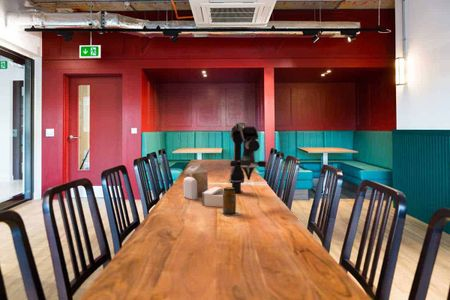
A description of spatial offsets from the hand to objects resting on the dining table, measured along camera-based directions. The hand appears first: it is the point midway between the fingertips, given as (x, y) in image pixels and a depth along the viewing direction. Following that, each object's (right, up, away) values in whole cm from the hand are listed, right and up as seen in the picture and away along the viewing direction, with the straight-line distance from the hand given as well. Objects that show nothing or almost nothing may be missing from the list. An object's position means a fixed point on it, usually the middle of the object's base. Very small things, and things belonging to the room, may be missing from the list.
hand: (248, 179), depth 153 cm
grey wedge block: (-17, -13, +6) cm, 22 cm away
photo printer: (-33, -13, +16) cm, 39 cm away
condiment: (-10, -15, -16) cm, 24 cm away
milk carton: (-31, -12, +27) cm, 42 cm away
